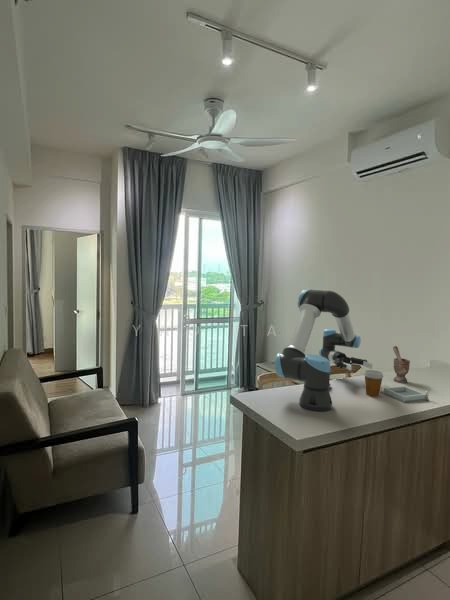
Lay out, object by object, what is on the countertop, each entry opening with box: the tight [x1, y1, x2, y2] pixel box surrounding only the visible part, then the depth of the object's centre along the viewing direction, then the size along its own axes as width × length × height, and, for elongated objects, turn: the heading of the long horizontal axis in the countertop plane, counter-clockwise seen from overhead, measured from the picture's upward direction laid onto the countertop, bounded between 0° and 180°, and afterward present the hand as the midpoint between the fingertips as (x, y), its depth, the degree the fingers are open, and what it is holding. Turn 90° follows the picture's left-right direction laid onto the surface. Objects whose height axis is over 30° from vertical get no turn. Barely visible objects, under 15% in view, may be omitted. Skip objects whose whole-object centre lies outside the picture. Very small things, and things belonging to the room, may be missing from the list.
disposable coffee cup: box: [363, 369, 384, 398], centre depth 191 cm, size 10×10×12 cm
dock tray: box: [380, 385, 430, 404], centre depth 190 cm, size 16×16×5 cm
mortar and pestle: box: [392, 345, 411, 384], centre depth 219 cm, size 12×9×20 cm
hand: (361, 367), depth 200 cm, fingers open, 13 cm apart
